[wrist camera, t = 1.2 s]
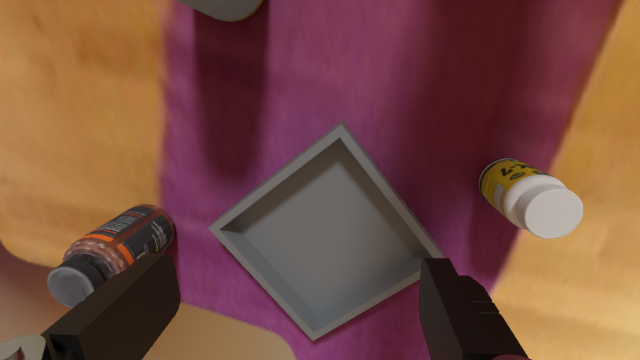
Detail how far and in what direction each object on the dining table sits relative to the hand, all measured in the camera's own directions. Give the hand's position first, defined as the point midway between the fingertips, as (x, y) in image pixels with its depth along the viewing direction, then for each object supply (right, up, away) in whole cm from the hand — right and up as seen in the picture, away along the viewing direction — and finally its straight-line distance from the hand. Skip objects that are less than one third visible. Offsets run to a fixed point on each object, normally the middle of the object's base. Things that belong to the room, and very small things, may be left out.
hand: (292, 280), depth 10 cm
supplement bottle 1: (-18, -2, +26) cm, 32 cm away
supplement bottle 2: (+19, +3, +21) cm, 29 cm away
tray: (+2, -2, +24) cm, 24 cm away
